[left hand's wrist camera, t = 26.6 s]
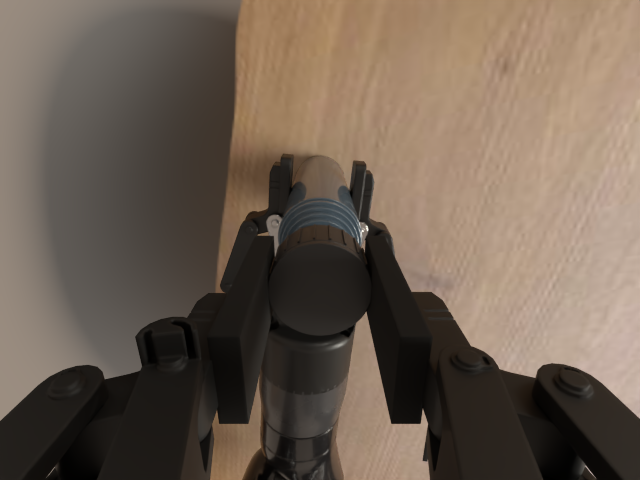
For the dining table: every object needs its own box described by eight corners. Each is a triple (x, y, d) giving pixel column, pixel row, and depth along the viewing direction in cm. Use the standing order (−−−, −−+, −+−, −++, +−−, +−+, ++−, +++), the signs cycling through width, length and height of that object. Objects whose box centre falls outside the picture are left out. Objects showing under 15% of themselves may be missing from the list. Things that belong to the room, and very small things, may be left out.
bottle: (286, 169, 30) (244, 258, 13) (330, 147, 29) (346, 209, 12) (309, 212, 31) (297, 341, 14) (352, 191, 31) (392, 301, 14)
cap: (276, 309, 15) (270, 338, 13) (268, 224, 14) (260, 243, 12) (366, 307, 15) (372, 335, 13) (367, 221, 14) (375, 240, 12)
